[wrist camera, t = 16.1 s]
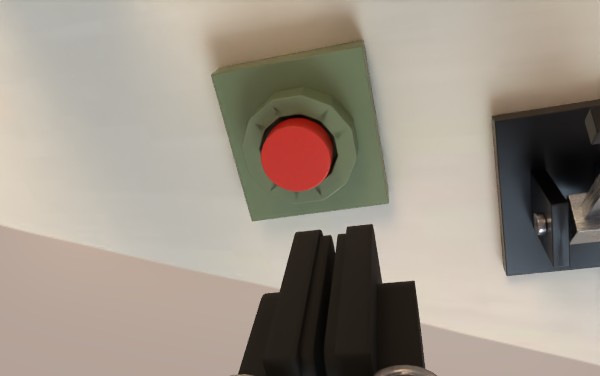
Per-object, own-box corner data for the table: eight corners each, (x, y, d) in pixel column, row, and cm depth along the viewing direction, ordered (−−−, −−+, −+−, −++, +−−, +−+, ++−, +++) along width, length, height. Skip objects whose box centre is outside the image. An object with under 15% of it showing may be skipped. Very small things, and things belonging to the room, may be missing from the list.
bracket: (491, 115, 37) (510, 150, 31) (639, 92, 35) (688, 124, 30) (503, 267, 42) (522, 320, 36) (634, 254, 40) (676, 308, 34)
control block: (218, 67, 38) (201, 82, 35) (363, 39, 36) (361, 52, 33) (257, 209, 43) (245, 235, 39) (388, 191, 40) (389, 217, 37)
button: (258, 123, 36) (252, 132, 34) (325, 111, 35) (323, 120, 33) (274, 184, 37) (269, 196, 36) (338, 175, 37) (336, 186, 35)
